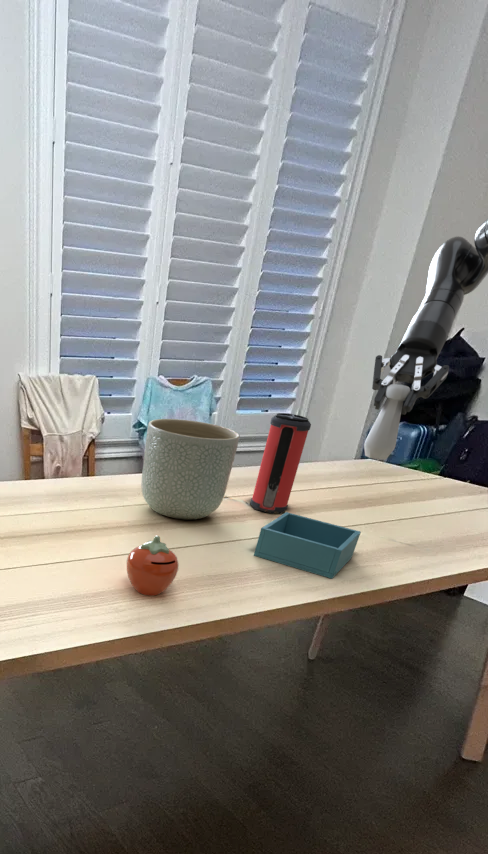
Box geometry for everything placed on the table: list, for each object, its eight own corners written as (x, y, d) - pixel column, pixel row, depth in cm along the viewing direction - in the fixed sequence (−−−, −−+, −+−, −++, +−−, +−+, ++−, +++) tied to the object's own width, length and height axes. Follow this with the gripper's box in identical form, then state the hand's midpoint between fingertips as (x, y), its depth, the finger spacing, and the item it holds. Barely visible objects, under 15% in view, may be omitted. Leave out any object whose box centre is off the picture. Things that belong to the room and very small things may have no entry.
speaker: (247, 509, 132) (270, 415, 121) (252, 500, 138) (274, 410, 128) (284, 517, 130) (311, 422, 120) (287, 507, 136) (313, 417, 126)
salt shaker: (356, 455, 127) (379, 382, 119) (367, 452, 130) (390, 382, 123) (384, 462, 124) (410, 387, 116) (395, 459, 127) (420, 387, 120)
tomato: (137, 603, 87) (146, 546, 83) (114, 581, 93) (121, 527, 88) (183, 598, 90) (194, 544, 86) (157, 578, 95) (167, 525, 91)
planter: (162, 494, 135) (176, 415, 126) (234, 515, 127) (254, 433, 118) (119, 508, 123) (131, 423, 114) (196, 532, 115) (215, 443, 107)
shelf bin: (351, 558, 113) (361, 531, 110) (331, 578, 103) (341, 550, 100) (278, 537, 118) (286, 511, 116) (253, 555, 109) (261, 527, 106)
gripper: (390, 314, 122) (354, 388, 120) (470, 323, 116) (433, 401, 114) (385, 345, 129) (351, 416, 127) (461, 356, 123) (426, 429, 121)
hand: (390, 408), depth 120 cm, fingers closed on salt shaker, 4 cm apart
